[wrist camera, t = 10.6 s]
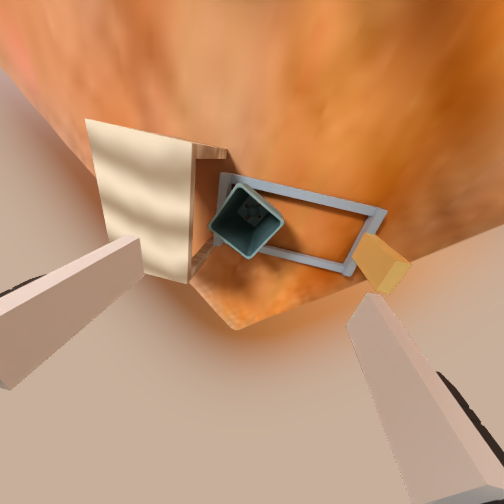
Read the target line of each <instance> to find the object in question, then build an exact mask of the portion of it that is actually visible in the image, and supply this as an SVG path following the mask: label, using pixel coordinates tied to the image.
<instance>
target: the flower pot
mask: <svg viewBox="0 0 504 504" xmlns="http://www.w3.org/2000/svg"><path fill="white" fill-rule="evenodd" d="M257 203H260V205H259V206H258V205H257ZM246 204H248V206H246ZM258 215H261V217H258ZM247 216H249V218H247ZM284 223H285V222H284V219H283V217H282V215H281V213H280V212H279V211H278V210H277V209H276V208H274V207H273V206H272V205H271V204H270V203H269V202H267V201H266V200H265V199H264V198H263V197H262V196H261V195H259V194H258V193H257V192H256V191H255V190H254V189H253V188H252V187H250V186H249V185H248V184H245V183H237V184H236V185H235V187H234V188H233V190H232V191H231V193H230V194H229V196H228V197H227V199H226V200H225V202H224V203H223V204H222V206H221V207H220V209H219V210H218V211H217V213H216V214H215V216H214V217H213V218H212V220H211V221H210V222H209V224H208V226H207V227H208V229H209V230H210V231H211V232H213V233H214V234H215V235H217V236H218V237H219V238H221V239H222V240H223V241H224V242H226V243H227V244H228V245H230V246H231V247H232V248H234V249H235V250H236V251H237V252H239V253H240V254H241V255H242V256H244V257H245V258H246V259H249V260H250V259H251V258H253V256H254V255H255V254H256V253H257V252H258V251H259V250H260V249H261V248H262V247H263V246H264V245H265V244H266V243H267V242H268V240H270V238H271V237H272V236H273V235H274V234H275V233H276V232H277V231H278V230H279V229H280V228H281V227H282V226H283V225H284Z"/></svg>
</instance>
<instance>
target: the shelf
mask: <svg viewBox="0 0 504 504" xmlns="http://www.w3.org/2000/svg"><path fill="white" fill-rule="evenodd" d="M85 122H86V127H87V132H88V137H89V142H90V147H91V152H92V157H93V163H94V168H95V173H96V178H97V183H98V187H99V192H100V198H101V203H102V208H103V213H104V218H105V223H106V227H107V233H108V238H109V242H110V243H111V242H113V241H115V240H117V239H119V238H121V237H123V236H125V235H131V236H136V237H140V244H141V252H142V260H143V267H144V273H146V274H150V275H154V276H158V277H161V278H165V279H169V280H173V281H177V282H181V283H185V284H188V282H189V281H190V280H191V278H192V277H193V276H194V275H195V273H196V272H197V271H198V269H199V268H200V267H201V265H202V264H203V263H204V261H205V260H206V259H207V258H208V256H209V255H210V254H211V252H212V251H213V250H214V248H215V247H216V246H215V245H213V239H209V240H208V242H207V243H206V244H205V245H204V246H203V247H202V248H201V249H200V250H199V251H198V252H197V254H196V255H195V256H194V257H193V258H192V237H193V215H194V193H195V170H196V159H226V156H227V149H224V148H220V147H215V146H211V145H206V144H202V143H198V142H193V141H189V140H184V139H180V138H176V137H171V136H167V135H163V134H158V133H153V132H148V131H143V130H138V129H133V128H129V127H124V126H119V125H114V124H109V123H104V122H99V121H94V120H90V119H85Z"/></svg>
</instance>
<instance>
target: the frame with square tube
mask: <svg viewBox="0 0 504 504" xmlns="http://www.w3.org/2000/svg"><path fill="white" fill-rule="evenodd" d="M232 183H233V184H237V183H245V184H248V185H249V186H250V187H252V188H254V189H258V190H263V191H267V192H271V193H275V194H280V195H284V196H288V197H292V198H297V199H301V200H305V201H309V202H314V203H318V204H322V205H326V206H330V207H335V208H339V209H343V210H347V211H352V212H356V213H360V214H364V215H369V216H368V218H367V219H366V221H365V223H364V225H363V227H362V229H361V231H360V233H359V235H358V237H357V239H356V240H355V242H354V244H353V246H352V248H351V250H350V252H349V254H348V256H347V258H346V260H345V262H344V263H343V264H342V263H338V262H334V261H330V260H326V259H322V258H318V257H314V256H310V255H306V254H302V253H298V252H294V251H290V250H286V249H282V248H278V247H274V246H270V245H266V244H265V245H264V246H263V247H262V248H261V249H260V250H259V251H258V252H260V253H264V254H268V255H272V256H276V257H280V258H284V259H288V260H292V261H296V262H300V263H304V264H308V265H312V266H316V267H320V268H324V269H328V270H332V271H336V272H340V273H342V274H343V275H344V276H348V277H351V275H352V274H353V272H354V270H355V268H356V267H357V265H358V267H359V268H360V269H361V271H362V272H363V274H364V275H365V277H366V278H367V279H368V281H369V282H370V284H371V285H372V286H373V288H374V289H375V291H378V292H382V293H386V294H391V292H392V291H393V290H394V288H395V287H396V286H397V284H398V283H399V282H400V280H401V279H402V278H403V276H404V275H405V274H406V272H407V271H408V269H409V268H410V267H411V265H412V264H411V263H410V262H409V261H407V260H406V259H405V258H404V257H402V256H401V255H400V254H399V253H397V252H396V251H395V250H394V249H393V248H391V247H390V246H389V245H388V244H386V243H385V242H384V241H383V240H382V239H380V238H379V237H378V236H377V235H375V233H376V231H377V230H378V228H379V226H380V224H381V223H382V221H383V219H384V217H385V216H386V214H387V212H388V211H387V210H385V209H383V208H380V207H375V206H371V205H367V204H362V203H358V202H354V201H350V200H345V199H341V198H337V197H332V196H328V195H324V194H320V193H315V192H311V191H307V190H302V189H298V188H294V187H290V186H285V185H281V184H277V183H272V182H268V181H264V180H259V179H255V178H251V177H247V176H242V175H238V174H234V173H229V172H221V173H220V180H219V190H218V199H217V208H216V213H217V211H218V210H219V209H220V207H221V206H222V204H223V203H224V202H225V200H226V199H227V197H228V196H229V194H230V193H231V188H232ZM222 243H224V244H227V243H226V242H224V241H223V240H222V239H221V238H219V237H218V236H217V235H215V234H214V237H213V245H215V246H219V247H220V246H221V245H222Z"/></svg>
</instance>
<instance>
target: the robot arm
mask: <svg viewBox="0 0 504 504" xmlns="http://www.w3.org/2000/svg"><path fill="white" fill-rule="evenodd" d="M143 276H144V267H143V260H142V252H141V244H140V237H136V236H131V235H125V236H123V237H121V238H119V239H117V240H115V241H113V242H111V243H109V244H107V245H105V246H103V247H101V248H99V249H97V250H95V251H93V252H91V253H89V254H87V255H85V256H83V257H81V258H79V259H77V260H75V261H73V262H71V263H69V264H67V265H65V266H63V267H61V268H59V269H57V270H55V271H53V272H51V273H49V274H45V275H42V276H39V277H36V278H32V279H29V280H27V281H25V282H23V283H21V284H19V285H17V286H15V287H13V289H11V290H7V291H5V292H3V293H1V294H0V388H4V389H7V390H12V389H13V388H14V387H15V386H16V385H17V384H19V383H20V382H21V381H22V380H23V379H24V378H26V377H27V376H28V375H29V374H30V373H31V372H32V371H34V370H35V369H36V368H37V367H38V366H39V365H41V364H42V363H43V362H44V361H45V360H47V359H48V358H49V357H50V356H51V355H52V354H53V353H55V352H56V351H57V350H58V349H59V348H60V347H62V346H63V345H64V344H65V343H66V342H68V341H69V340H70V339H71V338H72V337H73V336H75V335H76V334H77V333H78V332H79V331H80V330H82V329H83V328H84V327H85V326H86V325H87V324H89V323H90V322H91V321H92V320H93V319H94V318H96V317H97V316H98V315H99V314H100V313H101V312H102V311H104V310H105V309H106V308H107V307H108V306H110V305H111V304H112V303H113V302H114V301H115V300H117V299H118V298H119V297H120V296H121V295H122V294H124V293H125V292H126V291H127V290H128V289H129V288H131V287H132V286H133V285H134V284H135V283H136V282H137V281H139V280H140V279H141V278H142V277H143ZM346 328H347V331H348V333H349V336H350V339H351V341H352V344H353V347H354V349H355V352H356V355H357V358H358V360H359V363H360V366H361V368H362V371H363V374H364V376H365V379H366V382H367V384H368V387H369V390H370V392H371V395H372V398H373V400H374V403H375V406H376V409H377V411H378V414H379V417H380V419H381V422H382V425H383V428H384V430H385V433H386V436H387V438H388V441H389V444H390V446H391V449H392V452H393V455H394V457H395V460H396V463H397V465H398V468H399V471H400V473H401V476H402V478H403V481H404V484H405V487H406V490H407V492H408V495H409V498H410V500H411V503H412V504H504V452H503V451H502V449H501V448H500V446H499V445H498V444H497V442H496V441H495V440H494V439H493V437H492V436H491V434H490V433H489V432H488V430H487V429H486V428H485V427H484V426H482V425H481V421H480V420H479V418H478V417H477V416H476V414H475V413H474V412H473V410H471V409H469V405H468V404H467V402H466V401H465V400H464V398H463V397H462V396H461V395H460V393H459V392H458V390H457V389H456V388H455V387H454V386H453V385H452V384H451V383H450V382H449V381H448V380H447V379H446V378H445V377H444V376H443V375H442V374H441V373H440V372H436V371H435V370H434V369H433V367H432V366H431V364H430V363H429V362H428V360H427V359H426V357H425V356H424V355H423V353H422V352H421V350H420V349H419V347H418V346H417V345H416V343H415V342H414V340H413V339H412V338H411V336H410V335H409V333H408V332H407V331H406V329H405V328H404V326H403V325H402V324H401V322H400V321H399V319H398V318H397V317H396V315H395V314H394V312H393V311H392V309H391V308H390V307H389V305H388V304H387V302H386V301H385V300H384V298H383V297H382V296H381V295H378V294H374V293H369V292H367V293H366V295H365V296H364V298H363V299H362V301H361V302H360V304H359V305H358V307H357V309H356V310H355V312H354V313H353V315H352V317H351V318H350V320H349V321H348V323H347V324H346Z"/></svg>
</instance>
